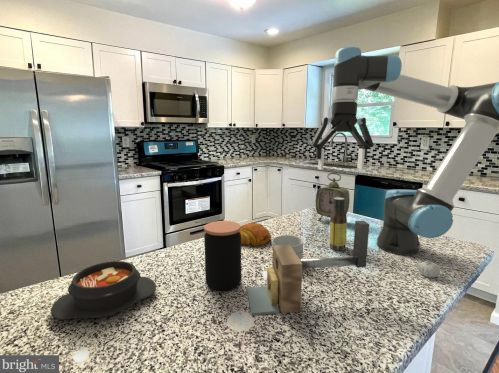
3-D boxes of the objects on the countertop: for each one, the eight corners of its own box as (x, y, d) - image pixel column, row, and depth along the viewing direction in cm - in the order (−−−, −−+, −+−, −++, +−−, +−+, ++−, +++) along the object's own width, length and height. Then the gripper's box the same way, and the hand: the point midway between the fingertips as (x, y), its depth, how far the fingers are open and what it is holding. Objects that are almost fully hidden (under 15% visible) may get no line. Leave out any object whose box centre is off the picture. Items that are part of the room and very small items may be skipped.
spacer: (272, 290, 82) (272, 267, 80) (277, 305, 75) (278, 280, 74) (266, 290, 82) (267, 267, 80) (271, 305, 75) (272, 280, 73)
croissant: (229, 244, 122) (226, 227, 120) (256, 231, 131) (253, 215, 129) (251, 254, 111) (249, 236, 109) (279, 239, 121) (277, 222, 119)
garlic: (419, 278, 90) (421, 262, 89) (416, 270, 95) (417, 255, 94) (441, 281, 88) (444, 265, 87) (437, 273, 93) (439, 258, 92)
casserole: (48, 340, 63) (43, 305, 62) (54, 298, 79) (50, 269, 77) (163, 306, 76) (162, 276, 74) (149, 275, 91) (147, 250, 90)
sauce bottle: (348, 247, 113) (352, 198, 109) (340, 252, 109) (343, 201, 105) (333, 243, 118) (336, 195, 114) (325, 247, 113) (328, 198, 110)
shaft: (360, 262, 81) (363, 220, 79) (365, 267, 78) (369, 224, 76) (290, 266, 79) (291, 223, 76) (292, 271, 76) (294, 226, 74)
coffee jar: (246, 277, 90) (246, 222, 87) (233, 296, 80) (232, 234, 77) (215, 272, 93) (213, 219, 90) (199, 289, 83) (196, 230, 80)
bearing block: (288, 286, 85) (290, 244, 82) (300, 311, 73) (302, 263, 71) (272, 287, 84) (272, 245, 82) (281, 312, 73) (282, 264, 70)
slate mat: (270, 287, 84) (270, 285, 84) (279, 313, 73) (279, 310, 73) (246, 289, 84) (246, 287, 83) (251, 315, 72) (251, 312, 72)
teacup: (302, 270, 95) (303, 247, 94) (269, 266, 97) (269, 244, 96) (303, 252, 109) (303, 232, 107) (274, 250, 111) (274, 230, 109)
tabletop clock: (314, 220, 147) (316, 172, 142) (322, 216, 154) (325, 170, 149) (342, 227, 138) (345, 175, 133) (349, 222, 145) (352, 173, 140)
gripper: (310, 100, 85) (307, 171, 90) (389, 101, 88) (382, 170, 92) (302, 102, 93) (300, 168, 97) (375, 103, 96) (370, 167, 100)
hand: (340, 169), depth 95 cm, fingers open, 13 cm apart
